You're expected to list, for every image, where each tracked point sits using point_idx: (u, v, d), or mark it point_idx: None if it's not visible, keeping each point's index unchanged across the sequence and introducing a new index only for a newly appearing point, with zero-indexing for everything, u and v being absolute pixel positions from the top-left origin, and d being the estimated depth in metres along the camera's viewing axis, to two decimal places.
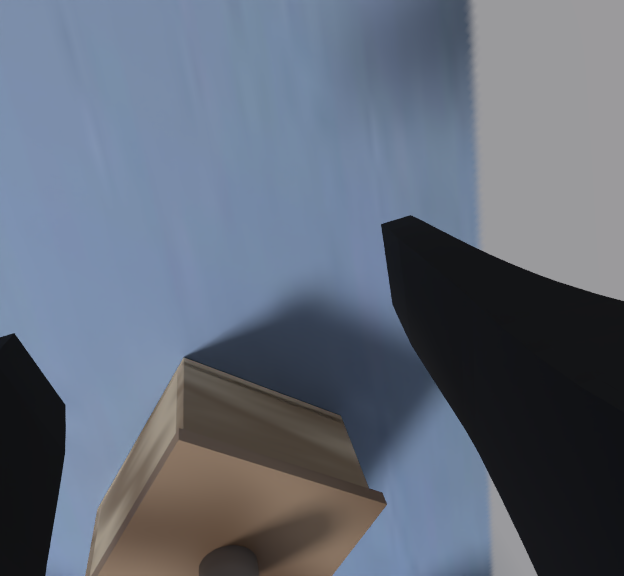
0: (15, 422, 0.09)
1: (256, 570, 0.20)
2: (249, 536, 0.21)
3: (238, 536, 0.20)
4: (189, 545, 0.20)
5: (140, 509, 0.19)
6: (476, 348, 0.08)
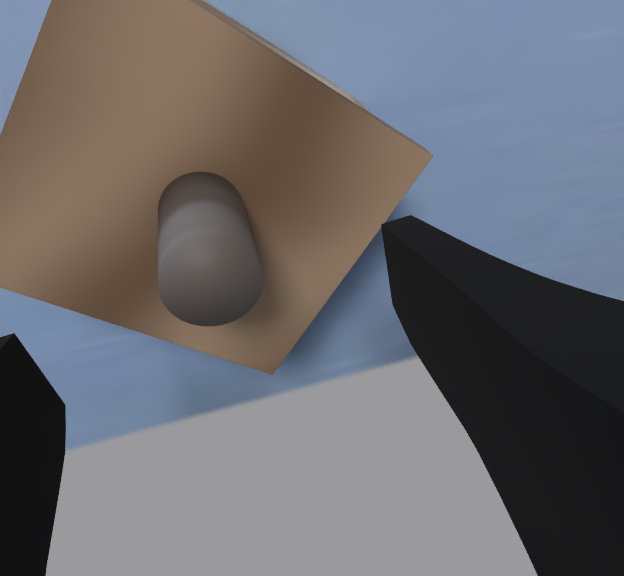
0: (15, 422, 0.09)
1: None
2: (254, 236, 0.15)
3: (258, 222, 0.15)
4: (255, 161, 0.14)
5: (339, 101, 0.14)
6: (476, 348, 0.08)
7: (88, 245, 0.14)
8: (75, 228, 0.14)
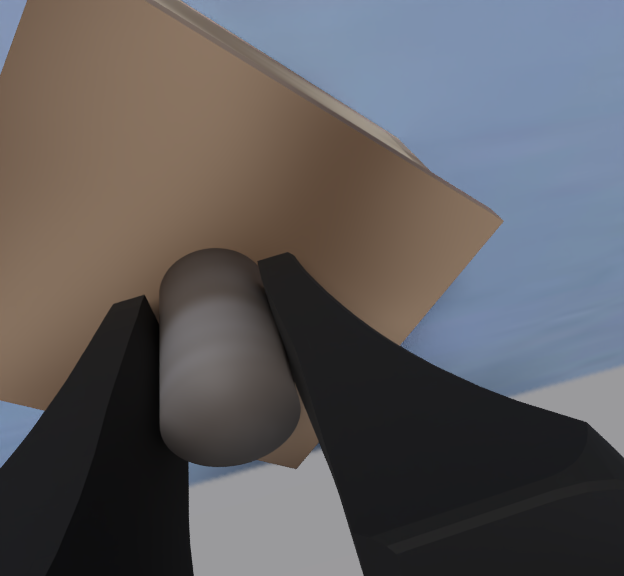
0: (156, 378, 0.09)
1: None
2: None
3: None
4: (283, 233, 0.11)
5: (392, 159, 0.11)
6: (310, 401, 0.08)
7: (71, 338, 0.11)
8: (53, 319, 0.11)
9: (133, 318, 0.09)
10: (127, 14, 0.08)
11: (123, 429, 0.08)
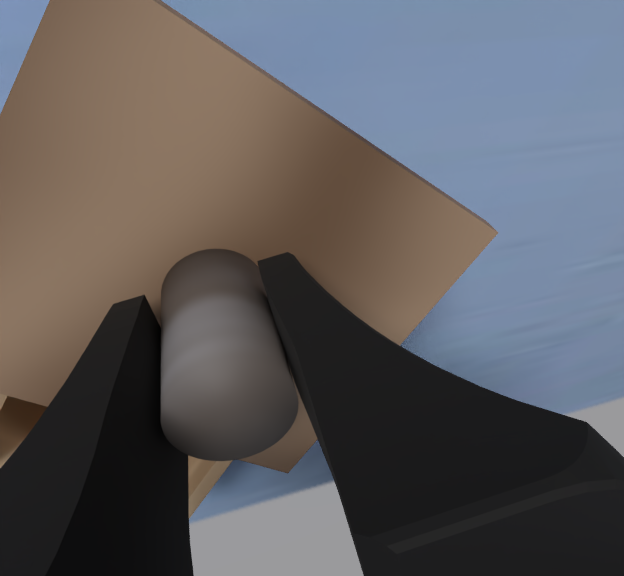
0: (156, 378, 0.09)
1: None
2: None
3: None
4: (284, 236, 0.11)
5: (393, 168, 0.11)
6: None
7: (72, 333, 0.12)
8: (56, 314, 0.11)
9: (133, 318, 0.09)
10: (144, 18, 0.09)
11: (123, 429, 0.08)
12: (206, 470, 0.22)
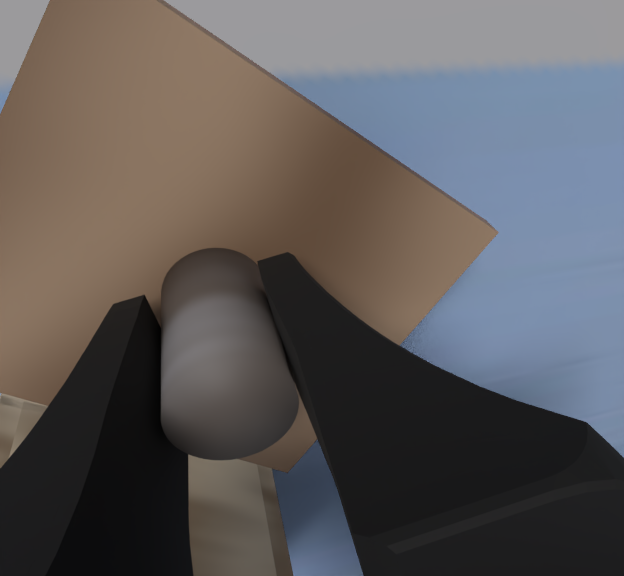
0: (156, 379, 0.09)
1: None
2: None
3: None
4: (285, 235, 0.11)
5: (393, 167, 0.11)
6: (310, 401, 0.08)
7: (72, 332, 0.12)
8: (56, 313, 0.11)
9: (133, 318, 0.09)
10: (145, 17, 0.09)
11: (123, 429, 0.08)
12: None
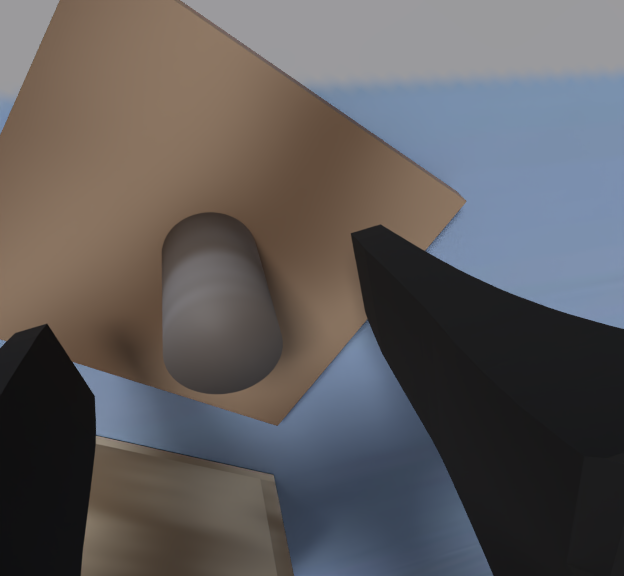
0: (51, 411, 0.09)
1: None
2: (267, 281, 0.14)
3: (271, 267, 0.14)
4: (272, 202, 0.13)
5: (369, 140, 0.12)
6: (435, 361, 0.08)
7: (81, 289, 0.13)
8: (67, 270, 0.13)
9: (25, 350, 0.09)
10: (148, 3, 0.10)
11: None
12: None
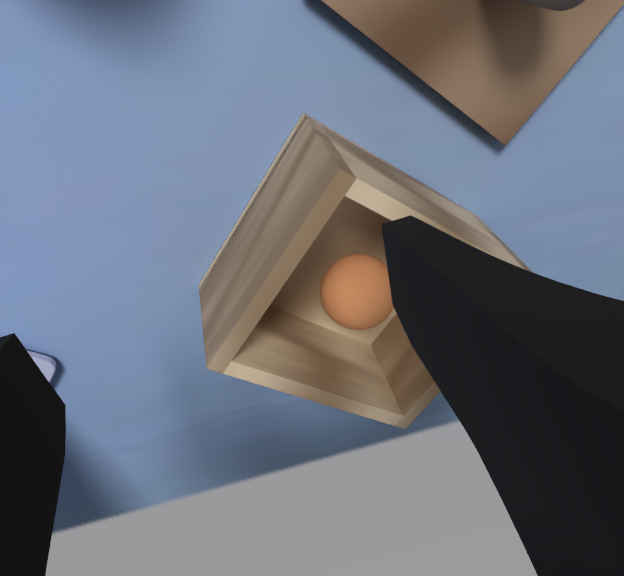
0: (15, 422, 0.09)
1: None
2: None
3: None
4: None
5: None
6: (476, 348, 0.08)
7: None
8: None
9: None
10: None
11: None
12: None
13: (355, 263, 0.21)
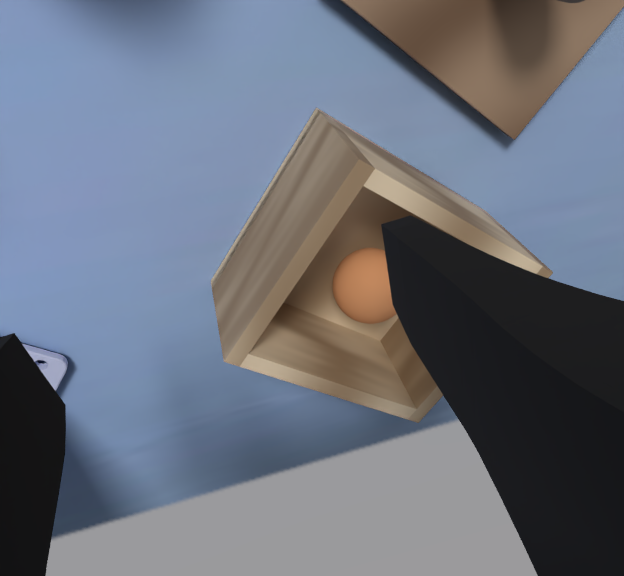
0: (15, 422, 0.09)
1: None
2: None
3: None
4: None
5: None
6: (476, 348, 0.08)
7: None
8: None
9: None
10: None
11: None
12: None
13: (368, 256, 0.21)
